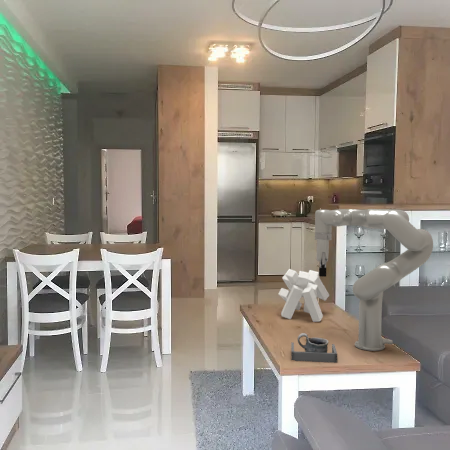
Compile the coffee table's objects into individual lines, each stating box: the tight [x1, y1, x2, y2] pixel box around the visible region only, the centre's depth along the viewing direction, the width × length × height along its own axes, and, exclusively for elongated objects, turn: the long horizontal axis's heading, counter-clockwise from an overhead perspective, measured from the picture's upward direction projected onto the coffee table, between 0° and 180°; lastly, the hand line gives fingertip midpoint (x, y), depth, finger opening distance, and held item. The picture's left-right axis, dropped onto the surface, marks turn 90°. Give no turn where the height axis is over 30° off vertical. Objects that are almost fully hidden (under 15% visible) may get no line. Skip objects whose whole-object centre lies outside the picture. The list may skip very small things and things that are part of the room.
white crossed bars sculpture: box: [277, 268, 330, 323], centre depth 268 cm, size 35×30×35 cm
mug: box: [297, 332, 329, 353], centre depth 200 cm, size 10×12×10 cm
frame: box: [290, 342, 338, 364], centre depth 202 cm, size 18×13×4 cm
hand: (322, 276), depth 225 cm, fingers closed
